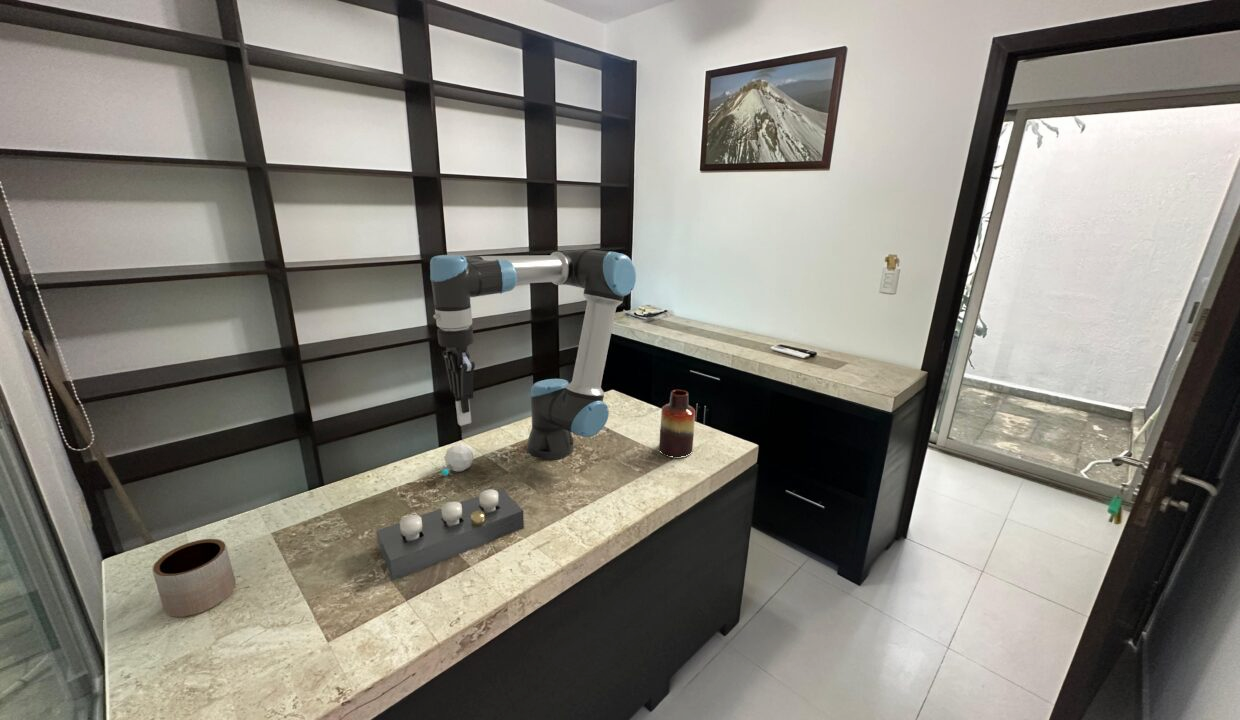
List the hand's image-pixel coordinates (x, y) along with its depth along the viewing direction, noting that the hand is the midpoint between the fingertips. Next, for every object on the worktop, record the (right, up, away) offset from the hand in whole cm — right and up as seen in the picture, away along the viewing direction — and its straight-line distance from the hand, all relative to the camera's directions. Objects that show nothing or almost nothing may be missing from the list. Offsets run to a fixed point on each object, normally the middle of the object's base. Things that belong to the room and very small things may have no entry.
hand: (464, 423), depth 116 cm
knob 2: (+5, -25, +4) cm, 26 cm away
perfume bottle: (-11, -18, +27) cm, 35 cm away
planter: (-45, -32, -20) cm, 59 cm away
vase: (+55, -15, +44) cm, 72 cm away
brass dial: (+4, -23, -3) cm, 23 cm away
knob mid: (-2, -26, -1) cm, 27 cm away
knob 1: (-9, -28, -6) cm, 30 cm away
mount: (-2, -27, -1) cm, 27 cm away
